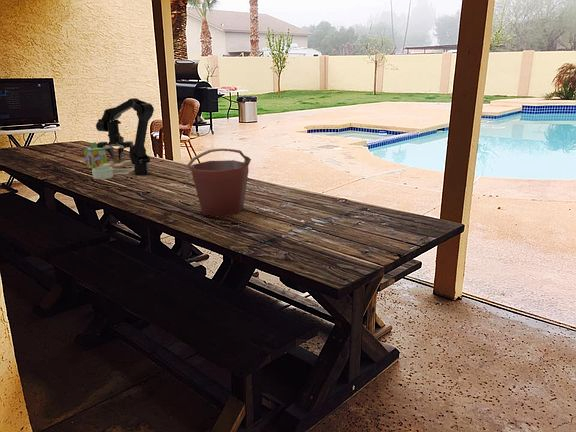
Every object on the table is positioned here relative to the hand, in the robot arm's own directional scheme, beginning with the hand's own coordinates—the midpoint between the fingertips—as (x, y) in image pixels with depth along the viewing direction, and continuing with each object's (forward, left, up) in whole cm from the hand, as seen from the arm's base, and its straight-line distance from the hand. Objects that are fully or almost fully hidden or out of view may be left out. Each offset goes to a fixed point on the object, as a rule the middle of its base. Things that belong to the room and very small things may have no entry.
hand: (117, 159), depth 272 cm
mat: (0, 0, -7) cm, 7 cm away
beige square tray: (0, 0, -2) cm, 2 cm away
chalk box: (+18, -14, -7) cm, 24 cm away
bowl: (+3, +15, -7) cm, 17 cm away
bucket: (-71, +82, -7) cm, 109 cm away
